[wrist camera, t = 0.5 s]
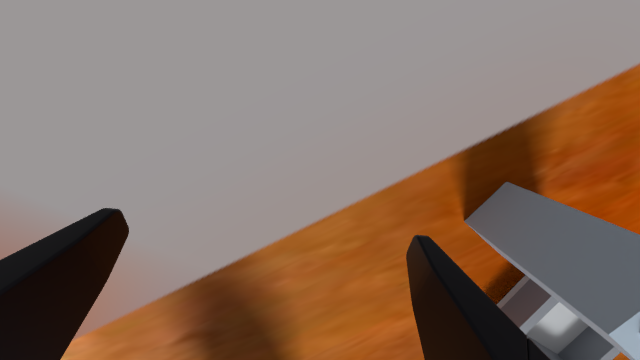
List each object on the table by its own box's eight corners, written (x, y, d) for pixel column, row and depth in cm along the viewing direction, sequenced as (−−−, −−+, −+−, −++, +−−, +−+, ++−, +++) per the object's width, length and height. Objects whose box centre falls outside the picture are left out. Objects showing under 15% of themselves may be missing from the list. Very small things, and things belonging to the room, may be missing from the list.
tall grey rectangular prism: (498, 253, 26) (685, 403, 13) (464, 221, 26) (627, 349, 12) (541, 215, 26) (788, 337, 12) (506, 181, 25) (733, 272, 11)
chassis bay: (552, 360, 30) (578, 388, 27) (484, 317, 28) (504, 342, 25) (625, 293, 28) (662, 315, 25) (556, 243, 26) (587, 260, 23)
